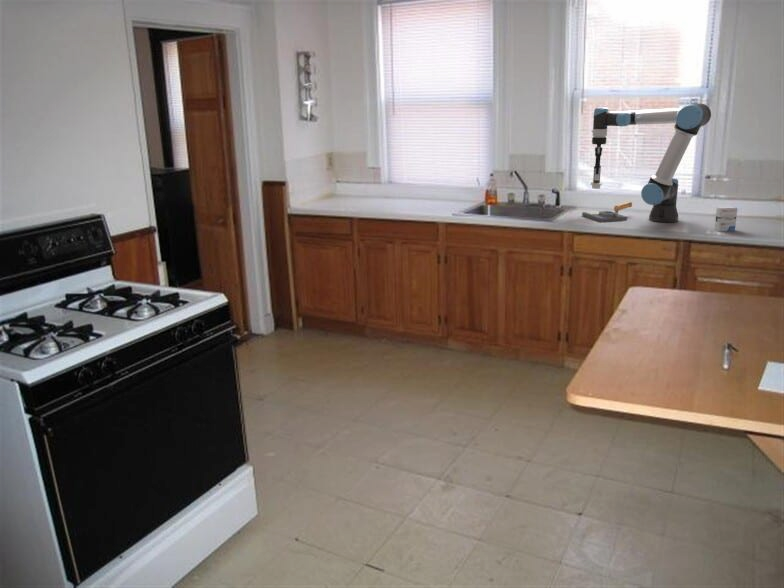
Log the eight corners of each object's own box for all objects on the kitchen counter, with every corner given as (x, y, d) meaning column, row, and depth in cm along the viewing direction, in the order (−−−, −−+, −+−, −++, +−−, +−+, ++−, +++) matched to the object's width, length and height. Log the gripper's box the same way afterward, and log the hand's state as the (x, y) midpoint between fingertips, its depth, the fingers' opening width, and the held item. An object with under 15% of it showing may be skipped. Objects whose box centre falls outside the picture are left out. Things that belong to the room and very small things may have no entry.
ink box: (730, 229, 362) (733, 206, 359) (735, 231, 358) (738, 207, 354) (713, 229, 362) (716, 206, 359) (718, 231, 357) (721, 208, 354)
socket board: (626, 220, 390) (627, 211, 388) (600, 222, 386) (600, 212, 385) (607, 214, 408) (607, 205, 407) (582, 215, 405) (582, 207, 403)
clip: (617, 211, 387) (618, 206, 386) (613, 210, 389) (613, 205, 388) (632, 206, 399) (632, 202, 398) (627, 206, 401) (628, 201, 400)
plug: (603, 188, 395) (605, 166, 391) (593, 189, 393) (595, 167, 390) (598, 187, 400) (599, 165, 397) (588, 187, 399) (589, 166, 395)
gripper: (592, 135, 397) (589, 177, 404) (592, 137, 382) (589, 181, 389) (606, 135, 395) (603, 177, 402) (606, 137, 380) (603, 181, 387)
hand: (596, 179), depth 395 cm, fingers closed on plug, 3 cm apart
